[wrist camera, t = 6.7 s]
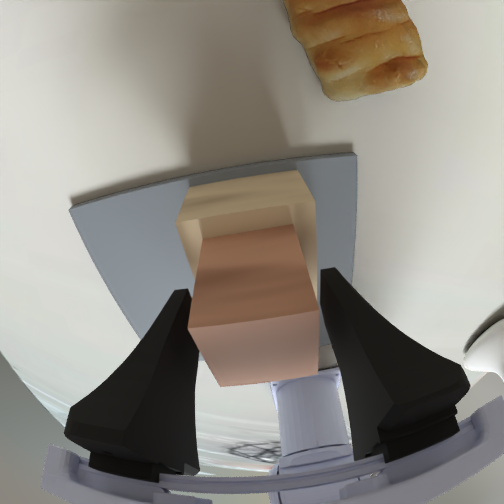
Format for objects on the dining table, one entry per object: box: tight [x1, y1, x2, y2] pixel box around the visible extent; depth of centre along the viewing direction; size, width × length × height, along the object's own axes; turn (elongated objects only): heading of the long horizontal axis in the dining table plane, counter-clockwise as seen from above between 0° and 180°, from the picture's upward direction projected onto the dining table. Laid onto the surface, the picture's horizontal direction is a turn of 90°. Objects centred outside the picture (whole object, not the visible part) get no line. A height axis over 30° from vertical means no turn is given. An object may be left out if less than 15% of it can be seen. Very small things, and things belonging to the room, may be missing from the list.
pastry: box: [283, 0, 428, 101], centre depth 9 cm, size 9×7×4 cm
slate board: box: [69, 153, 357, 361], centre depth 20 cm, size 17×18×1 cm
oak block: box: [175, 170, 317, 299], centre depth 15 cm, size 6×6×4 cm
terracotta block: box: [188, 224, 320, 387], centre depth 11 cm, size 4×4×5 cm
